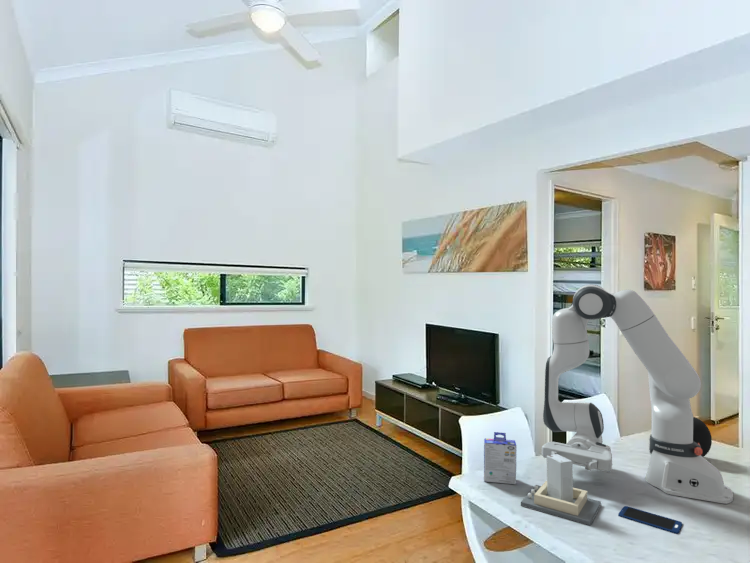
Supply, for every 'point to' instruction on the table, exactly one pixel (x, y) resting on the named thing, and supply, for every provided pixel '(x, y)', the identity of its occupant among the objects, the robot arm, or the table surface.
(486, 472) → the ink cartridge box
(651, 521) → the cell phone
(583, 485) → the table surface
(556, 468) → the skincare box
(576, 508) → the socket dock
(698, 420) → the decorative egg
